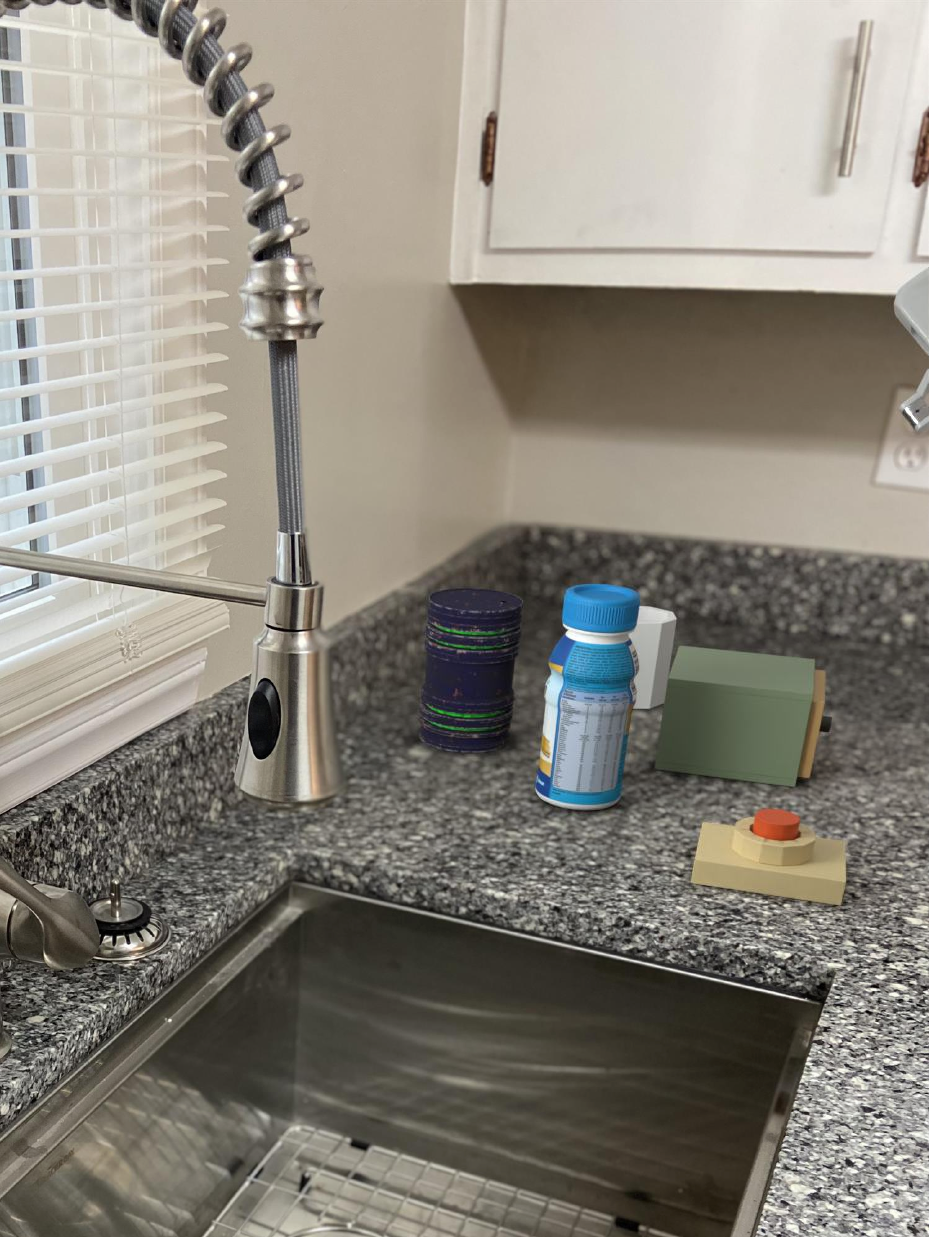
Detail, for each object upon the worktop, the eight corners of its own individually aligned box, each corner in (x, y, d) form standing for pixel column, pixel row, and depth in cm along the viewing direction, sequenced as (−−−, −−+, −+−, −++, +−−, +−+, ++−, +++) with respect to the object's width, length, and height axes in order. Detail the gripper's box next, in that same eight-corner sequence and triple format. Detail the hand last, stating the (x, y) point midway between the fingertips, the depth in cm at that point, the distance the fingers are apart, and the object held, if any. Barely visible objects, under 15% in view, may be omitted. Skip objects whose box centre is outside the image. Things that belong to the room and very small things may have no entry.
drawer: (823, 743, 152) (838, 671, 149) (822, 780, 143) (838, 704, 139) (688, 727, 157) (700, 657, 153) (679, 762, 147) (691, 687, 144)
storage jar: (409, 747, 153) (419, 606, 146) (426, 718, 161) (436, 584, 155) (504, 757, 150) (518, 615, 144) (516, 728, 159) (530, 592, 152)
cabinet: (797, 747, 154) (815, 659, 150) (795, 787, 144) (813, 693, 139) (666, 731, 158) (679, 645, 154) (654, 769, 148) (667, 678, 143)
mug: (671, 693, 171) (684, 610, 166) (655, 713, 164) (668, 628, 159) (571, 679, 175) (580, 598, 171) (551, 698, 168) (561, 614, 164)
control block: (840, 864, 127) (849, 822, 125) (841, 905, 120) (850, 861, 118) (699, 843, 131) (705, 802, 129) (690, 883, 123) (697, 840, 121)
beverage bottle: (577, 820, 136) (604, 607, 126) (514, 791, 142) (536, 587, 133) (640, 802, 140) (670, 595, 131) (576, 775, 146) (601, 576, 137)
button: (796, 831, 124) (800, 812, 124) (795, 846, 121) (799, 827, 121) (753, 824, 126) (756, 806, 125) (751, 840, 123) (754, 821, 122)
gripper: (1127, 414, 126) (978, 517, 132) (983, 244, 131) (845, 350, 137) (1135, 390, 121) (979, 500, 126) (984, 214, 126) (840, 326, 131)
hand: (908, 421), depth 131 cm, fingers closed
